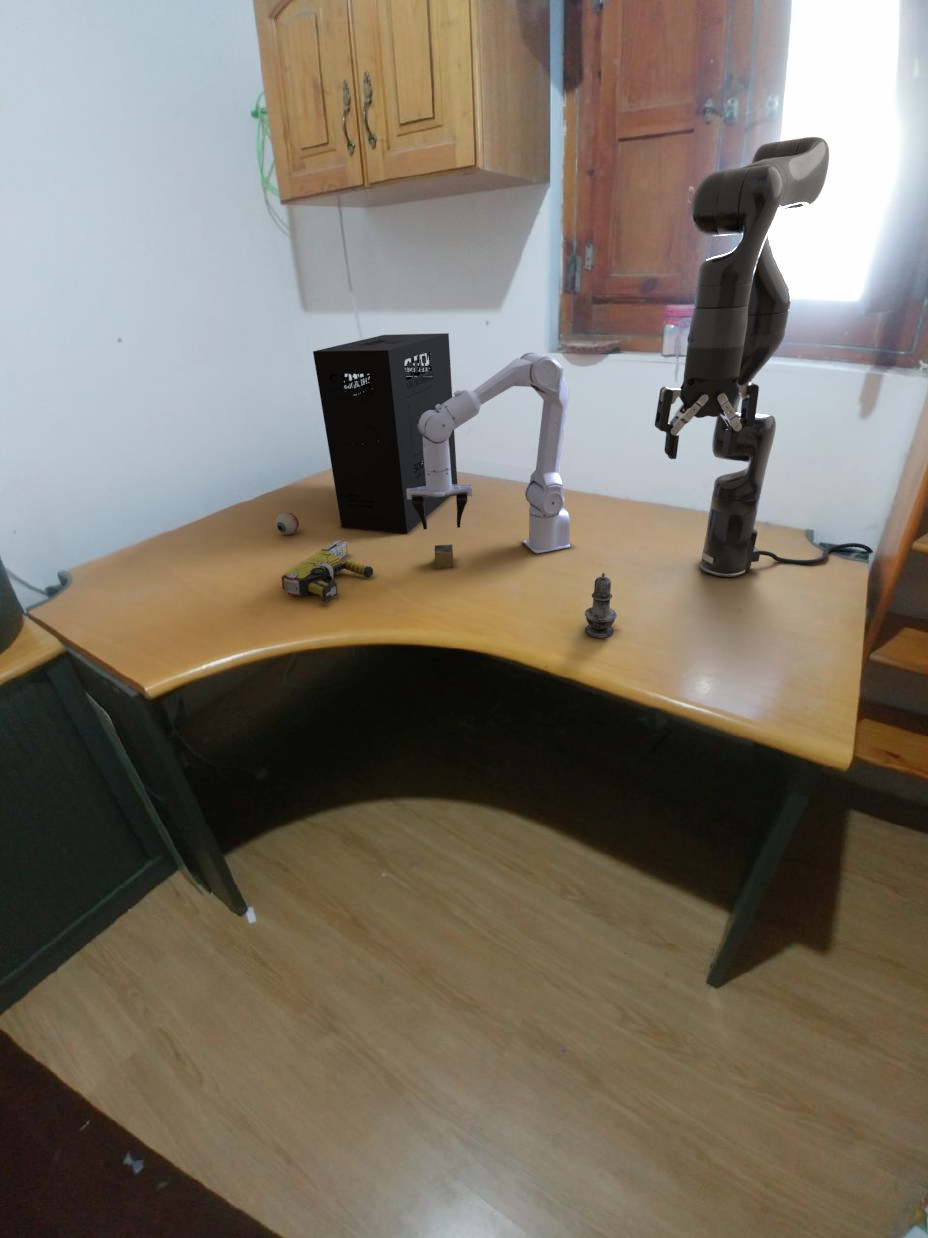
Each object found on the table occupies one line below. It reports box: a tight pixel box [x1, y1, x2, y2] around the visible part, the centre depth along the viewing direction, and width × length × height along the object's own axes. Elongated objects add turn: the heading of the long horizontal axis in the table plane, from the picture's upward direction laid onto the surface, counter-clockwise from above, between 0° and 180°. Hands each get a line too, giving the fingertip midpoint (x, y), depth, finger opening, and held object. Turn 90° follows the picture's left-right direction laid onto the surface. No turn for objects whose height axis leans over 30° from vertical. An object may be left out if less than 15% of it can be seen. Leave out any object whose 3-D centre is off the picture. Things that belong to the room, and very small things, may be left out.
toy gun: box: [281, 539, 374, 603], centre depth 138 cm, size 5×24×15 cm
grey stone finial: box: [583, 572, 618, 639], centre depth 111 cm, size 6×6×12 cm
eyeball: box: [275, 511, 300, 536], centre depth 163 cm, size 6×6×6 cm
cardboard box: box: [312, 332, 458, 534], centre depth 168 cm, size 38×20×45 cm, turn 159°
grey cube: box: [434, 544, 454, 569], centre depth 142 cm, size 4×4×4 cm
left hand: (442, 526), depth 139 cm, fingers open, 7 cm apart
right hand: (699, 456), depth 94 cm, fingers open, 8 cm apart
